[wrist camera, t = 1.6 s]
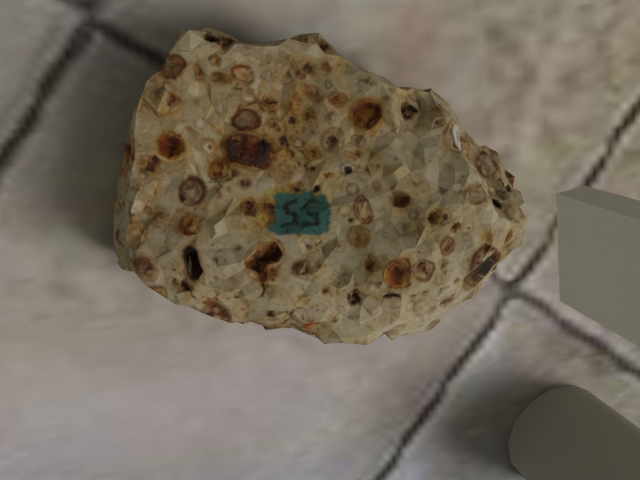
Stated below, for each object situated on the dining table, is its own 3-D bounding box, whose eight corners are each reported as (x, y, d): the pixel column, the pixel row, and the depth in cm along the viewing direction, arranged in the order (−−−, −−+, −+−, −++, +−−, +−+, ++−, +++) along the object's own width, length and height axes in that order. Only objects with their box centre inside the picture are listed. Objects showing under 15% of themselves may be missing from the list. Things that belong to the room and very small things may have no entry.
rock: (105, 289, 31) (67, 318, 22) (157, 41, 32) (142, -41, 22) (433, 344, 36) (523, 388, 26) (475, 128, 36) (579, 92, 27)
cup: (503, 487, 43) (597, 598, 34) (512, 396, 41) (616, 490, 32) (592, 465, 46) (703, 564, 36) (605, 378, 43) (728, 460, 34)
